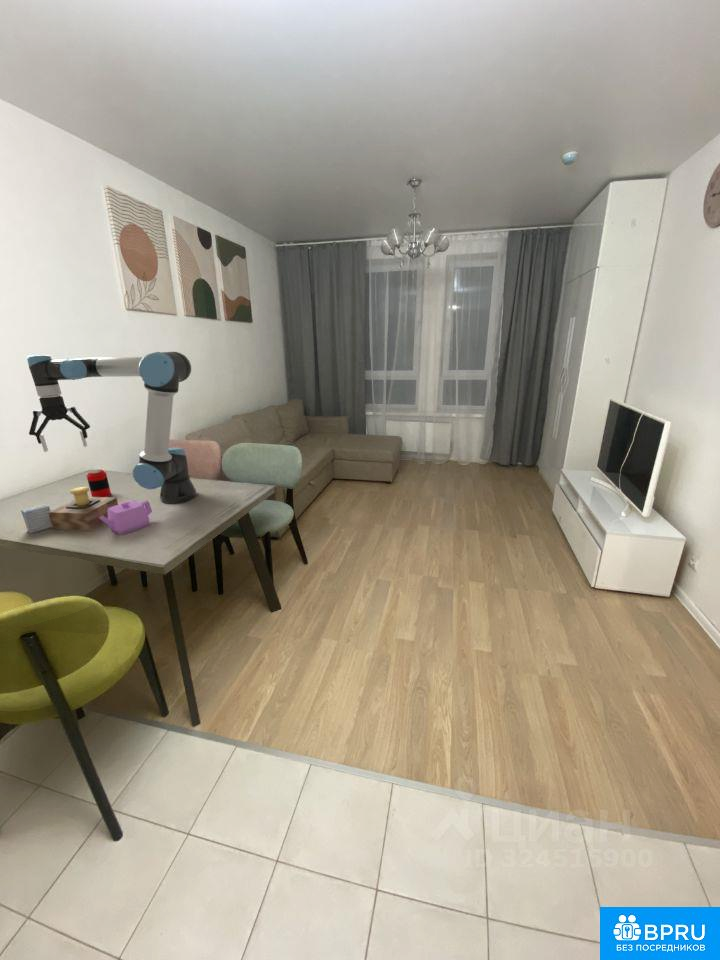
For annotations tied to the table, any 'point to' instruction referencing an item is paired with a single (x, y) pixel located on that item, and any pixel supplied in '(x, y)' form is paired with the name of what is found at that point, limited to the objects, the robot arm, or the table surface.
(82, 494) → the peg
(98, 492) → the soda can
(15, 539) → the table surface
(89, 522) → the socket
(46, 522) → the medicine box
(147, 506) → the teapot
